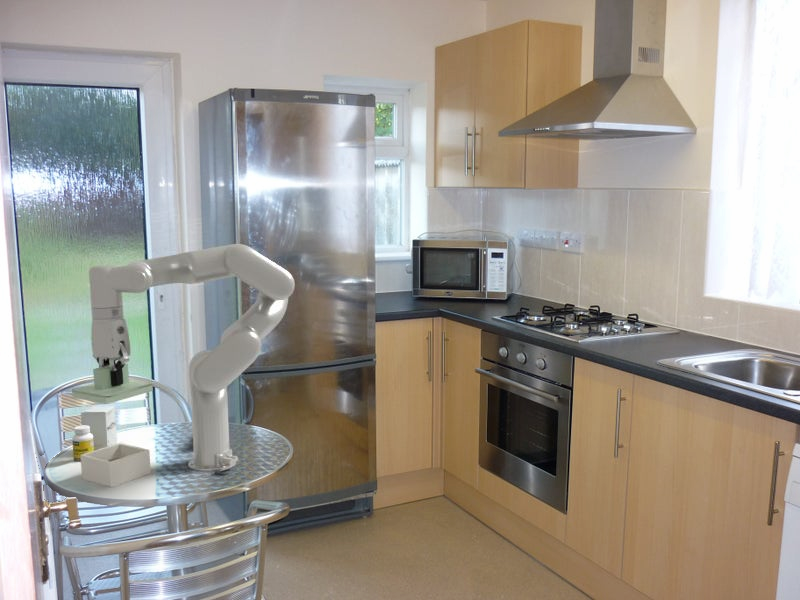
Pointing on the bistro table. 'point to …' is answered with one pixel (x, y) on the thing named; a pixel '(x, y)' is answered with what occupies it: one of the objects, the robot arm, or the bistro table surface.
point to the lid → (110, 387)
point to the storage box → (115, 464)
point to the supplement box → (101, 425)
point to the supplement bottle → (82, 442)
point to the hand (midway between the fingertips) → (112, 383)
